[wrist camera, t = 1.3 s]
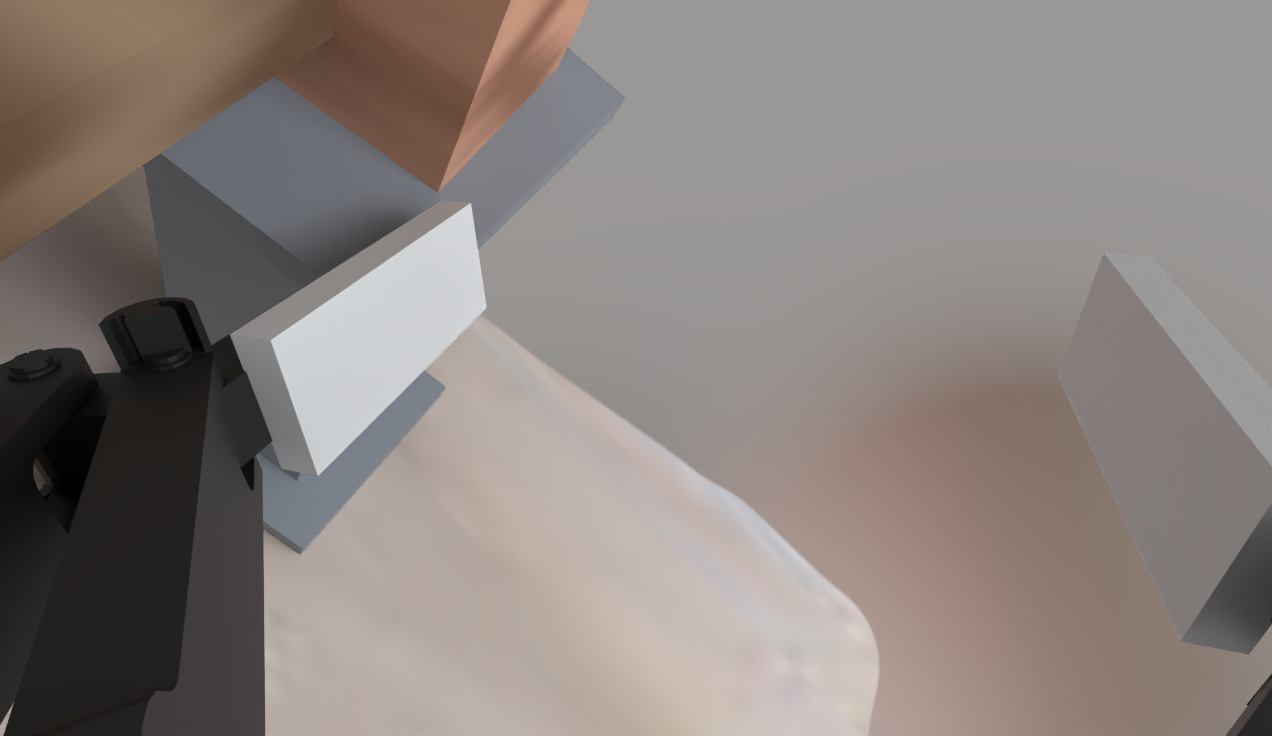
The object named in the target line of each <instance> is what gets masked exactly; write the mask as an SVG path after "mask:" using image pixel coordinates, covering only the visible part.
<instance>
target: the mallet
mask: <svg viewBox="0 0 1272 736" xmlns="http://www.w3.org/2000/svg"><path fill="white" fill-rule="evenodd" d="M589 2H590V0H0V262H1V261H2V260H4V259H5V258H6V257H8V256H9V255H11V254H12V253H14V252H15V251H17V250H18V249H20V248H21V247H23V246H24V245H26V244H27V243H29V242H30V241H32V240H33V239H35V238H36V237H38V236H39V235H40V234H42V233H43V232H45V231H46V230H48V229H49V228H51V227H52V226H54V225H55V224H57V223H58V222H60V221H61V220H63V219H64V218H66V217H67V216H69V215H70V214H72V213H73V212H74V211H76V210H77V209H79V208H80V207H82V206H83V205H85V204H86V203H88V202H89V201H91V200H92V199H94V198H95V197H97V196H98V195H100V194H101V193H103V192H104V191H106V190H107V189H108V188H110V187H111V186H113V185H114V184H116V183H117V182H119V181H120V180H122V179H123V178H125V177H126V176H128V175H129V174H131V173H132V172H134V171H135V170H137V169H138V168H140V167H141V166H142V165H144V164H145V163H147V162H148V161H150V160H151V159H153V158H154V157H156V156H157V155H159V154H160V153H162V152H163V151H165V150H166V149H168V148H169V147H171V146H172V145H174V144H175V143H176V142H178V141H179V140H181V139H182V138H184V137H185V136H187V135H188V134H190V133H191V132H193V131H194V130H196V129H197V128H199V127H200V126H202V125H203V124H205V123H206V122H207V121H209V120H210V119H212V118H213V117H215V116H216V115H218V114H219V113H221V112H222V111H224V110H225V109H227V108H228V107H230V106H231V105H233V104H234V103H236V102H237V101H239V100H240V99H241V98H243V97H244V96H246V95H247V94H249V93H250V92H252V91H253V90H255V89H256V88H258V87H259V86H261V85H262V84H264V83H265V82H267V81H268V80H270V79H271V78H273V77H275V78H277V79H278V80H280V81H281V82H283V83H284V84H285V85H287V86H288V87H290V88H291V89H292V90H294V91H295V92H297V93H298V94H299V95H301V96H302V97H304V98H305V99H307V100H308V101H309V102H311V103H312V104H314V105H315V106H316V107H318V108H319V109H321V110H322V111H323V112H325V113H326V114H328V115H329V116H331V117H332V118H333V119H335V120H336V121H338V122H339V123H340V124H342V125H343V126H345V127H346V128H347V129H349V130H350V131H352V132H353V133H355V134H356V135H357V136H359V137H360V138H362V139H363V140H364V141H366V142H367V143H369V144H370V145H371V146H373V147H374V148H376V149H377V150H379V151H380V152H381V153H383V154H384V155H386V156H387V157H388V158H390V159H391V160H393V161H394V162H395V163H397V164H398V165H400V166H401V167H403V168H404V169H405V170H407V171H408V172H410V173H411V174H412V175H414V176H415V177H417V178H418V179H419V180H421V181H422V182H424V183H425V184H427V185H428V186H429V187H431V188H432V189H434V190H435V191H436V192H439V191H440V190H441V189H442V188H443V187H444V186H445V185H446V184H447V182H448V181H449V180H450V179H451V178H452V177H453V176H454V175H455V174H456V173H457V172H458V171H459V170H460V169H461V168H462V167H463V166H464V165H465V164H466V163H467V162H468V161H469V160H470V158H471V157H472V156H473V155H474V154H475V153H476V152H477V151H478V150H479V149H480V148H481V147H482V146H483V145H484V144H485V143H486V142H487V141H488V140H489V139H490V138H491V137H492V136H493V134H494V133H495V132H496V131H497V130H498V129H499V128H500V127H501V126H502V125H503V124H504V123H505V122H506V121H507V120H508V119H509V118H510V117H511V116H512V115H513V114H514V113H515V112H516V110H517V109H518V108H519V107H520V106H521V105H522V104H523V103H524V102H525V101H526V100H527V99H528V98H529V97H530V96H531V95H532V94H533V93H534V92H535V91H536V90H537V89H538V88H539V86H540V85H541V84H542V83H543V82H544V81H545V80H546V79H547V78H548V77H549V76H550V75H551V74H552V73H553V72H554V71H555V70H556V69H557V68H558V66H559V64H560V62H561V60H562V57H563V55H564V53H565V51H566V49H567V47H568V45H569V43H570V41H571V39H572V37H573V35H574V33H575V31H576V29H577V27H578V25H579V23H580V21H581V19H582V17H583V14H584V13H585V10H586V8H587V6H588V4H589Z"/></svg>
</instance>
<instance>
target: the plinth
mask: <svg viewBox="0 0 1272 736" xmlns="http://www.w3.org/2000/svg"><path fill="white" fill-rule="evenodd" d="M624 99H625V97H624V96H623V95H621V94H620V93H619V92H618V91H617V90H616V89H615V88H613V87H612V86H611V85H610V84H609V83H608V82H606V81H605V80H604V79H603V78H602V77H601V76H600V75H599V74H597V73H596V72H595V71H594V70H593V69H592V68H590V67H589V66H588V65H587V64H586V63H585V62H583V61H582V60H581V59H580V58H579V57H578V56H577V55H575V54H574V53H573V52H572V51H571V50H570V49H568V48H567V49H566V51H565V53H564V55H563V57H562V60H561V62H560V64H559V66H558V68H557V69H556V70H555V71H554V72H553V73H552V74H551V75H550V76H549V77H548V78H547V79H546V80H545V81H544V82H543V83H542V84H541V85H540V86H539V88H538V89H537V90H536V91H535V92H534V93H533V94H532V95H531V96H530V97H529V98H528V99H527V100H526V101H525V102H524V103H523V104H522V105H521V106H520V107H519V108H518V109H517V110H516V112H515V113H514V114H513V115H512V116H511V117H510V118H509V119H508V120H507V121H506V122H505V123H504V124H503V125H502V126H501V127H500V128H499V129H498V130H497V131H496V132H495V133H494V134H493V136H492V137H491V138H490V139H489V140H488V141H487V142H486V143H485V144H484V145H483V146H482V147H481V148H480V149H479V150H478V151H477V152H476V153H475V154H474V155H473V156H472V157H471V158H470V160H469V161H468V162H467V163H466V164H465V165H464V166H463V167H462V168H461V169H460V170H459V171H458V172H457V173H456V174H455V175H454V176H453V177H452V178H451V179H450V180H449V181H448V182H447V184H446V185H445V186H444V187H443V188H442V189H441V190H440V191H439V192H436V191H435V190H434V189H432V188H431V187H429V186H428V185H427V184H425V183H424V182H422V181H421V180H419V179H418V178H417V177H415V176H414V175H412V174H411V173H410V172H408V171H407V170H405V169H404V168H403V167H401V166H400V165H398V164H397V163H395V162H394V161H393V160H391V159H390V158H388V157H387V156H386V155H384V154H383V153H381V152H380V151H379V150H377V149H376V148H374V147H373V146H371V145H370V144H369V143H367V142H366V141H364V140H363V139H362V138H360V137H359V136H357V135H356V134H355V133H353V132H352V131H350V130H349V129H347V128H346V127H345V126H343V125H342V124H340V123H339V122H338V121H336V120H335V119H333V118H332V117H331V116H329V115H328V114H326V113H325V112H323V111H322V110H321V109H319V108H318V107H316V106H315V105H314V104H312V103H311V102H309V101H308V100H307V99H305V98H304V97H302V96H301V95H299V94H298V93H297V92H295V91H294V90H292V89H291V88H290V87H288V86H287V85H285V84H284V83H283V82H281V81H280V80H278V79H277V78H275V77H273V78H271V79H270V80H268V81H267V82H265V83H264V84H262V85H261V86H259V87H258V88H256V89H255V90H253V91H252V92H250V93H249V94H247V95H246V96H244V97H243V98H241V99H240V100H239V101H237V102H236V103H234V104H233V105H231V106H230V107H228V108H227V109H225V110H224V111H222V112H221V113H219V114H218V115H216V116H215V117H213V118H212V119H210V120H209V121H207V122H206V123H205V124H203V125H202V126H200V127H199V128H197V129H196V130H194V131H193V132H191V133H190V134H188V135H187V136H185V137H184V138H182V139H181V140H179V141H178V142H176V143H175V144H174V145H172V146H171V147H169V148H168V149H166V150H165V151H163V152H162V153H160V154H159V155H157V156H156V157H154V158H153V159H151V160H150V161H148V162H147V163H145V164H144V165H142V166H143V167H144V168H145V173H146V179H147V185H148V191H149V197H150V203H151V209H152V215H153V221H154V227H155V233H156V239H157V245H158V251H159V257H160V263H161V269H162V275H163V281H164V287H165V293H166V297H179V298H187V299H189V300H192V301H194V303H195V306H196V308H197V310H198V313H199V315H200V318H201V320H202V323H203V325H204V328H205V330H206V333H207V335H208V338H209V340H210V343H211V345H213V344H214V343H216V342H217V341H219V340H220V339H222V338H224V337H225V336H227V335H228V334H230V333H232V332H233V331H235V330H236V329H238V328H239V327H241V326H243V325H244V324H246V323H247V322H249V321H251V320H252V319H254V318H255V317H258V316H260V314H262V313H263V312H265V311H266V310H268V309H270V308H271V307H274V306H275V305H276V304H278V303H279V302H281V301H282V300H284V299H285V298H287V297H289V296H290V295H292V294H293V293H295V292H298V291H299V290H301V289H302V288H304V287H306V286H307V285H309V284H310V283H312V282H313V281H315V280H317V279H318V278H320V277H321V276H323V275H325V274H326V273H328V272H329V271H331V270H332V269H334V268H336V267H337V266H339V265H340V264H342V263H344V262H345V261H347V260H348V259H350V258H351V257H353V256H355V255H356V254H358V253H359V252H361V251H363V250H364V249H366V248H367V247H369V246H370V245H372V244H374V243H375V242H377V241H378V240H380V239H382V238H383V237H385V236H386V235H388V234H389V233H391V232H393V231H394V230H396V229H397V228H399V227H400V226H402V225H404V224H405V223H407V222H408V221H410V220H412V219H413V218H415V217H416V216H418V215H419V214H421V213H423V212H424V211H426V210H427V209H429V208H431V207H432V206H434V205H435V204H437V203H438V202H440V201H454V202H466V203H471V207H472V214H473V220H474V227H475V234H476V240H477V247H478V249H479V248H480V247H481V246H482V245H483V244H484V243H485V242H486V241H488V239H490V237H492V236H493V235H494V234H495V233H496V232H497V231H498V230H499V229H500V228H501V227H502V226H503V225H504V224H505V223H506V222H507V221H508V220H509V219H510V218H511V217H512V216H513V215H514V214H515V213H516V212H517V211H518V210H519V209H520V208H521V207H522V206H523V205H525V203H527V202H528V200H530V199H531V198H532V197H533V196H534V195H535V194H536V193H537V192H538V191H539V190H540V189H541V188H542V187H543V186H544V185H545V184H546V183H547V182H548V181H549V180H550V179H551V178H552V177H553V176H554V175H555V174H556V173H557V172H558V171H559V170H560V169H561V168H562V167H563V166H565V165H566V164H567V163H568V161H570V160H571V159H572V158H573V157H574V156H575V155H576V154H577V153H578V152H579V151H580V150H581V149H582V148H583V147H584V146H585V145H586V144H587V143H588V142H589V141H590V140H591V139H592V138H593V137H594V136H595V135H596V134H597V133H598V132H599V131H600V130H601V129H602V128H604V126H606V124H608V123H609V122H610V121H611V120H612V119H613V117H614V115H615V114H616V112H617V111H618V109H619V107H620V106H621V104H622V103H623V101H624ZM444 389H445V386H444V385H443V384H441V383H440V382H439V381H437V380H436V379H435V378H434V377H432V376H431V375H430V374H428V373H427V372H426V371H423V372H422V373H421V374H420V375H419V376H418V377H417V378H416V379H415V380H414V381H413V382H412V383H411V384H410V385H409V386H408V387H407V388H406V389H405V390H404V391H403V392H402V393H401V394H400V395H399V396H398V397H397V398H396V399H395V400H394V401H393V402H392V403H391V404H390V405H389V406H388V407H387V408H386V409H385V410H384V411H383V412H382V413H381V414H380V415H379V416H378V417H377V418H376V419H375V420H374V421H373V422H372V423H371V424H370V425H369V426H368V427H367V428H366V429H365V430H364V431H363V432H362V433H361V434H360V435H359V436H358V437H357V438H356V439H355V440H354V441H353V442H352V443H351V444H350V445H349V446H348V447H347V448H346V449H345V450H344V451H343V452H342V453H341V454H340V455H339V456H338V457H337V458H336V459H335V460H334V461H333V462H332V463H331V464H330V465H329V466H328V467H327V468H326V469H325V470H324V471H323V472H322V473H321V474H320V475H319V476H315V475H310V474H305V473H300V472H295V471H290V470H285V469H281V466H280V464H279V461H278V459H277V456H276V453H275V451H274V448H273V445H272V443H270V444H269V445H267V446H266V447H265V448H264V449H263V450H262V451H260V452H259V453H258V454H257V455H256V456H257V459H258V461H259V464H260V466H261V469H262V471H263V529H265V530H266V531H268V532H269V533H271V534H272V535H273V536H275V537H276V538H278V539H279V540H281V541H282V542H283V543H285V544H286V545H288V546H289V547H291V548H292V549H293V550H295V551H296V552H298V553H299V554H301V553H302V552H303V551H304V550H305V549H306V548H307V547H308V545H309V544H310V543H311V542H312V541H313V540H314V539H315V537H316V536H317V535H318V534H319V533H320V532H321V531H322V530H323V528H324V527H325V526H326V525H327V524H328V523H329V522H330V520H331V519H332V518H333V517H334V516H335V515H336V514H337V513H338V511H339V510H340V509H341V508H342V507H343V506H344V505H345V503H346V502H347V501H348V500H349V499H350V498H351V497H352V495H353V494H354V493H355V492H356V491H357V490H358V489H359V488H360V486H361V485H362V484H363V483H364V482H365V481H366V480H367V478H368V477H369V476H370V475H371V474H372V473H373V472H374V471H375V469H376V468H377V467H378V466H379V465H380V464H381V463H382V461H383V460H384V459H385V458H386V457H387V456H388V455H389V454H390V452H391V451H392V450H393V449H394V448H395V447H396V446H397V444H398V443H399V442H400V441H401V440H402V439H403V438H404V436H405V435H406V434H407V433H408V432H409V431H410V430H411V429H412V427H413V426H414V425H415V424H416V423H417V422H418V421H419V419H420V418H421V417H422V416H423V415H424V414H425V413H426V412H427V410H428V409H429V408H430V407H431V406H432V405H433V404H434V402H435V401H436V400H437V399H438V398H439V397H440V395H441V394H442V392H443V391H444Z"/></svg>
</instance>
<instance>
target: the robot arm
mask: <svg viewBox="0 0 1272 736" xmlns="http://www.w3.org/2000/svg"><path fill="white" fill-rule="evenodd" d="M485 309H486V302H485V294H484V288H483V281H482V274H481V267H480V261H479V255H478V247H477V240H476V234H475V227H474V220H473V214H472V207H471V203H466V202H454V201H440V202H438V203H437V204H435V205H434V206H432V207H431V208H429V209H427V210H426V211H424V212H423V213H421V214H419V215H418V216H416V217H415V218H413V219H412V220H410V221H408V222H407V223H405V224H404V225H402V226H400V227H399V228H397V229H396V230H394V231H393V232H391V233H389V234H388V235H386V236H385V237H383V238H382V239H380V240H378V241H377V242H375V243H374V244H372V245H370V246H369V247H367V248H366V249H364V250H363V251H361V252H359V253H358V254H356V255H355V256H353V257H351V258H350V259H348V260H347V261H345V262H344V263H342V264H340V265H339V266H337V267H336V268H334V269H332V270H331V271H329V272H328V273H326V274H325V275H323V276H321V277H320V278H318V279H317V280H315V281H313V282H312V283H310V284H309V285H307V286H306V287H304V288H302V289H301V290H299V291H298V292H295V293H293V294H292V295H290V296H289V297H287V298H285V299H284V300H282V301H281V302H279V303H278V304H276V305H275V306H274V307H271V308H270V309H268V310H266V311H265V312H263V313H262V314H260V316H258V317H255V318H254V319H252V320H251V321H249V322H247V323H246V324H244V325H243V326H241V327H239V328H238V329H236V330H235V331H233V332H232V333H230V334H228V335H227V336H225V337H224V338H222V339H220V340H219V341H217V342H216V343H214V344H213V345H211V343H210V340H209V338H208V335H207V333H206V330H205V328H204V325H203V323H202V320H201V318H200V315H199V313H198V310H197V308H196V306H195V303H194V301H192V300H189V299H187V298H179V297H166V298H157V299H151V300H147V301H143V302H138V303H135V304H132V305H129V306H127V307H124V308H121V309H119V310H117V311H115V312H113V313H112V314H110V315H108V316H107V317H105V318H104V319H103V321H102V322H101V323H100V324H99V326H100V328H101V330H102V332H103V334H104V336H105V338H106V340H107V342H108V344H109V346H110V348H111V350H112V352H113V354H114V356H115V358H116V360H117V362H118V364H119V366H120V368H121V373H102V374H93V372H92V371H91V369H90V367H89V365H88V363H87V361H86V359H85V357H84V355H83V354H82V352H81V351H80V350H76V349H73V348H54V349H48V350H42V349H39V350H34V351H30V352H29V353H28V354H27V353H24V354H21V355H18V356H16V357H15V358H14V359H13V360H11V361H8V362H6V363H4V364H2V365H0V724H1V723H2V721H3V719H4V718H5V716H6V714H7V713H8V711H9V709H10V708H11V706H12V704H13V703H14V705H13V708H12V711H11V714H10V717H9V720H8V723H7V726H6V729H5V733H4V736H265V667H264V563H263V471H262V469H261V466H260V464H259V461H258V459H257V456H256V455H257V454H258V453H259V452H260V451H262V450H263V449H264V448H265V447H266V446H267V445H269V444H270V443H272V445H273V448H274V451H275V453H276V456H277V459H278V461H279V464H280V466H281V469H285V470H290V471H295V472H300V473H305V474H310V475H315V476H319V475H320V474H321V473H322V472H323V471H324V470H325V469H326V468H327V467H328V466H329V465H330V464H331V463H332V462H333V461H334V460H335V459H336V458H337V457H338V456H339V455H340V454H341V453H342V452H343V451H344V450H345V449H346V448H347V447H348V446H349V445H350V444H351V443H352V442H353V441H354V440H355V439H356V438H357V437H358V436H359V435H360V434H361V433H362V432H363V431H364V430H365V429H366V428H367V427H368V426H369V425H370V424H371V423H372V422H373V421H374V420H375V419H376V418H377V417H378V416H379V415H380V414H381V413H382V412H383V411H384V410H385V409H386V408H387V407H388V406H389V405H390V404H391V403H392V402H393V401H394V400H395V399H396V398H397V397H398V396H399V395H400V394H401V393H402V392H403V391H404V390H405V389H406V388H407V387H408V386H409V385H410V384H411V383H412V382H413V381H414V380H415V379H416V378H417V377H418V376H419V375H420V374H421V373H422V372H423V371H424V370H425V369H426V368H427V367H428V366H429V365H430V364H431V363H432V362H433V361H434V360H435V359H436V358H437V357H438V356H439V355H440V354H441V353H442V352H443V351H444V350H445V349H446V348H447V347H448V346H449V345H450V344H451V343H452V342H453V341H454V340H455V339H456V338H457V337H458V336H459V335H460V334H461V333H462V332H463V331H464V330H465V329H466V328H467V327H468V326H469V325H470V324H471V323H472V322H473V321H474V320H475V319H476V318H477V317H478V316H479V315H480V314H481V313H482V312H483V311H484V310H485ZM1058 377H1059V379H1060V382H1061V384H1062V386H1063V388H1064V390H1065V392H1066V394H1067V397H1068V399H1069V401H1070V403H1071V405H1072V408H1073V410H1074V412H1075V414H1076V416H1077V418H1078V421H1079V423H1080V425H1081V427H1082V429H1083V431H1084V433H1085V436H1086V438H1087V440H1088V442H1089V444H1090V447H1091V448H1092V451H1093V453H1094V455H1095V457H1096V459H1097V462H1098V464H1099V466H1100V468H1101V470H1102V472H1103V474H1104V477H1105V479H1106V481H1107V483H1108V486H1109V487H1110V490H1111V492H1112V494H1113V496H1114V498H1115V500H1116V503H1117V505H1118V507H1119V509H1120V511H1121V513H1122V516H1123V518H1124V520H1125V522H1126V524H1127V526H1128V529H1129V531H1130V533H1131V535H1132V537H1133V539H1134V542H1135V544H1136V546H1137V548H1138V550H1139V552H1140V554H1141V557H1142V559H1143V561H1144V563H1145V565H1146V568H1147V570H1148V572H1149V574H1150V576H1151V579H1152V581H1153V583H1154V585H1155V587H1156V589H1157V592H1158V594H1159V596H1160V598H1161V600H1162V602H1163V605H1164V607H1165V609H1166V611H1167V613H1168V615H1169V618H1170V620H1171V622H1172V624H1173V626H1174V628H1175V631H1176V633H1177V635H1178V637H1179V639H1180V641H1181V642H1187V643H1192V644H1197V645H1202V646H1207V647H1213V648H1218V649H1224V650H1228V651H1234V652H1239V653H1244V654H1249V653H1250V652H1251V651H1252V650H1253V648H1254V647H1255V646H1256V644H1257V643H1258V642H1259V640H1260V639H1261V638H1262V636H1263V635H1264V634H1265V632H1266V631H1267V630H1268V628H1269V627H1270V626H1271V624H1272V389H1271V388H1270V387H1269V385H1268V384H1267V383H1266V382H1265V381H1264V380H1263V379H1262V378H1261V377H1260V376H1259V375H1258V374H1257V373H1256V371H1254V369H1253V368H1252V367H1251V366H1250V365H1249V364H1248V363H1247V362H1246V360H1245V359H1244V358H1243V357H1242V356H1241V355H1240V354H1239V353H1238V352H1237V351H1236V350H1235V349H1234V347H1233V346H1232V345H1231V344H1230V343H1229V342H1228V341H1227V340H1226V339H1225V338H1224V337H1223V336H1222V334H1221V333H1219V331H1218V330H1217V329H1216V328H1215V327H1214V326H1213V325H1212V324H1211V323H1210V321H1209V320H1208V319H1207V318H1206V317H1205V316H1204V315H1203V314H1202V313H1201V312H1200V311H1199V310H1198V308H1197V307H1196V306H1195V305H1194V304H1193V303H1192V302H1191V301H1190V300H1189V299H1188V298H1187V296H1186V295H1185V294H1184V293H1183V292H1182V291H1181V290H1180V289H1179V288H1178V287H1177V286H1176V285H1175V283H1174V282H1173V281H1172V280H1171V279H1170V278H1169V277H1168V276H1167V275H1166V274H1165V273H1164V272H1163V270H1162V269H1161V268H1160V267H1159V266H1158V265H1157V264H1156V263H1155V262H1154V261H1153V260H1152V259H1151V257H1148V256H1136V255H1122V254H1110V253H1104V254H1103V256H1102V259H1101V262H1100V264H1099V267H1098V269H1097V272H1096V275H1095V277H1094V280H1093V283H1092V285H1091V288H1090V291H1089V294H1088V296H1087V299H1086V301H1085V304H1084V307H1083V309H1082V312H1081V314H1080V317H1079V320H1078V323H1077V325H1076V328H1075V330H1074V333H1073V336H1072V338H1071V341H1070V344H1069V346H1068V349H1067V352H1066V354H1065V357H1064V360H1063V362H1062V365H1061V367H1060V370H1059V373H1058ZM33 465H34V466H35V468H36V470H37V471H38V473H39V474H40V476H41V477H42V479H43V481H44V482H45V484H44V486H43V487H42V488H41V490H40V491H39V490H38V488H37V486H36V483H35V480H34V478H33ZM1247 705H1248V706H1247V708H1246V709H1245V710H1244V712H1243V713H1242V714H1241V716H1240V717H1239V718H1238V720H1237V721H1236V723H1235V724H1234V725H1233V727H1232V728H1231V729H1230V731H1229V732H1228V733H1227V735H1226V736H1272V674H1271V675H1270V676H1269V678H1268V679H1267V680H1266V681H1265V683H1264V684H1263V685H1262V686H1261V688H1260V689H1259V690H1258V691H1257V693H1256V694H1255V695H1254V696H1253V698H1252V699H1251V700H1250V701H1249V702H1248V704H1247Z"/></svg>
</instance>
